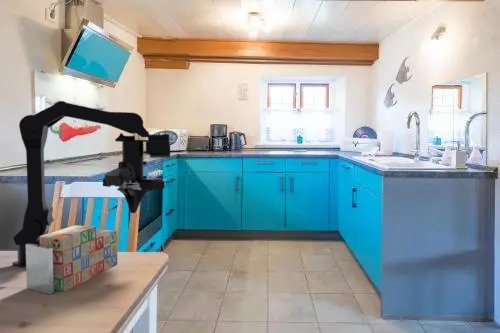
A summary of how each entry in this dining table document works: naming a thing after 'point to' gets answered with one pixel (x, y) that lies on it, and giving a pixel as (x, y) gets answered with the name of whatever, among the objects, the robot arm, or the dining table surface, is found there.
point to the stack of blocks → (80, 254)
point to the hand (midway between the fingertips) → (133, 212)
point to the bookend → (39, 268)
